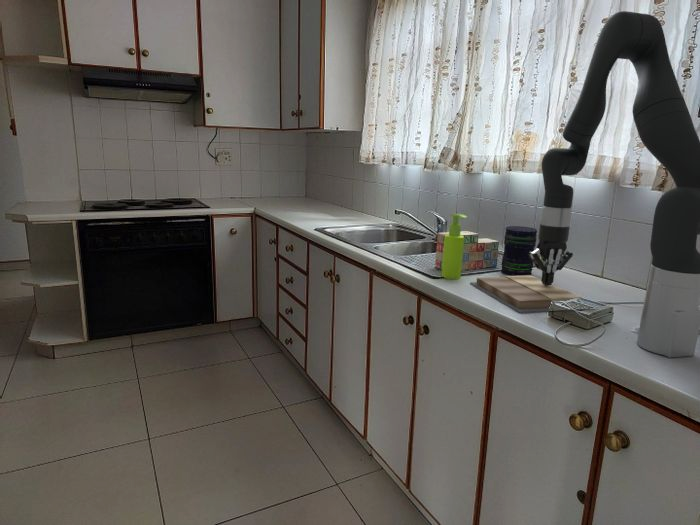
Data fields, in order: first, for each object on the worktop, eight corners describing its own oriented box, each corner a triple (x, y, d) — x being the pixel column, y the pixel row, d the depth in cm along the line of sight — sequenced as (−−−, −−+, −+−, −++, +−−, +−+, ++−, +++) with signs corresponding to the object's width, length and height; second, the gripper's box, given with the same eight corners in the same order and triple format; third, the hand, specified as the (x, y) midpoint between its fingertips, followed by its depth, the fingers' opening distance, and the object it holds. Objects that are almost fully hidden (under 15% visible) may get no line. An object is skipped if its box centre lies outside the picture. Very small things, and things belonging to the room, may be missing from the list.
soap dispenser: (453, 281, 144) (459, 216, 139) (437, 275, 149) (442, 213, 145) (466, 278, 147) (472, 215, 142) (450, 273, 152) (456, 212, 148)
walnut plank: (549, 306, 121) (550, 299, 120) (518, 308, 118) (519, 301, 118) (503, 283, 141) (504, 276, 141) (476, 284, 139) (477, 277, 139)
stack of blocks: (485, 263, 168) (488, 229, 165) (496, 267, 163) (500, 232, 160) (434, 267, 160) (437, 232, 157) (445, 272, 155) (448, 235, 152)
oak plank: (580, 304, 123) (582, 297, 122) (551, 306, 121) (552, 298, 120) (530, 281, 143) (531, 275, 143) (504, 282, 141) (505, 276, 141)
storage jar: (517, 268, 162) (522, 225, 158) (538, 275, 153) (544, 230, 149) (494, 270, 158) (498, 226, 155) (514, 278, 149) (520, 231, 146)
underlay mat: (594, 309, 122) (595, 307, 121) (519, 313, 116) (519, 311, 116) (534, 281, 146) (534, 279, 146) (469, 284, 141) (470, 282, 141)
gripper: (542, 226, 123) (534, 289, 127) (585, 225, 126) (576, 287, 130) (525, 221, 130) (518, 281, 134) (566, 221, 133) (558, 280, 137)
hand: (546, 284), depth 132 cm, fingers closed
